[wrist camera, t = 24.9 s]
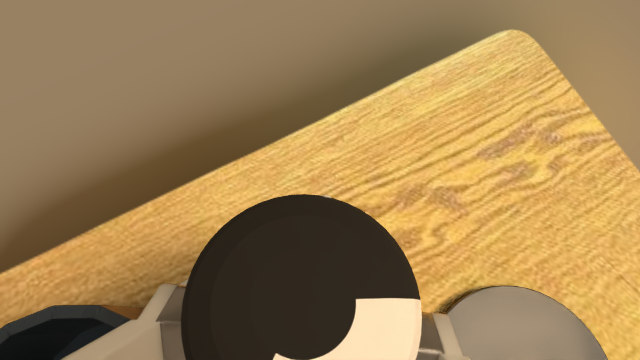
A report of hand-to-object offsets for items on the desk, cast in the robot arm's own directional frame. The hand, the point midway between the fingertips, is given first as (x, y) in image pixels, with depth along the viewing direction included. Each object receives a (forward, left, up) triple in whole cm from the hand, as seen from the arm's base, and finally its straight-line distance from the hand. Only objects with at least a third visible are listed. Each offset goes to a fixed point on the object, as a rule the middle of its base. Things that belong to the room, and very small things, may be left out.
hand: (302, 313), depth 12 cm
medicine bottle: (0, 0, -9) cm, 9 cm away
